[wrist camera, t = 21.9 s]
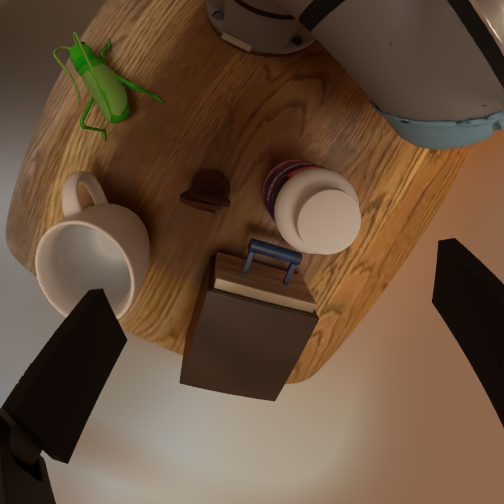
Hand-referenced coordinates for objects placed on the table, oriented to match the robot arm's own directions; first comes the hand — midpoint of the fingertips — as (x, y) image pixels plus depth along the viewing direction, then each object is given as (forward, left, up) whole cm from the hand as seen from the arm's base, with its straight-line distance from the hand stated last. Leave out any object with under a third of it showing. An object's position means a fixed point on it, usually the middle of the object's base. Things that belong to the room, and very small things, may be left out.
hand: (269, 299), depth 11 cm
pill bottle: (-1, +7, -28) cm, 29 cm away
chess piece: (+2, -3, -28) cm, 28 cm away
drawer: (+13, +6, -27) cm, 30 cm away
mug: (+10, -13, -28) cm, 32 cm away
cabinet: (+17, +6, -28) cm, 33 cm away
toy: (-8, -19, -28) cm, 35 cm away
